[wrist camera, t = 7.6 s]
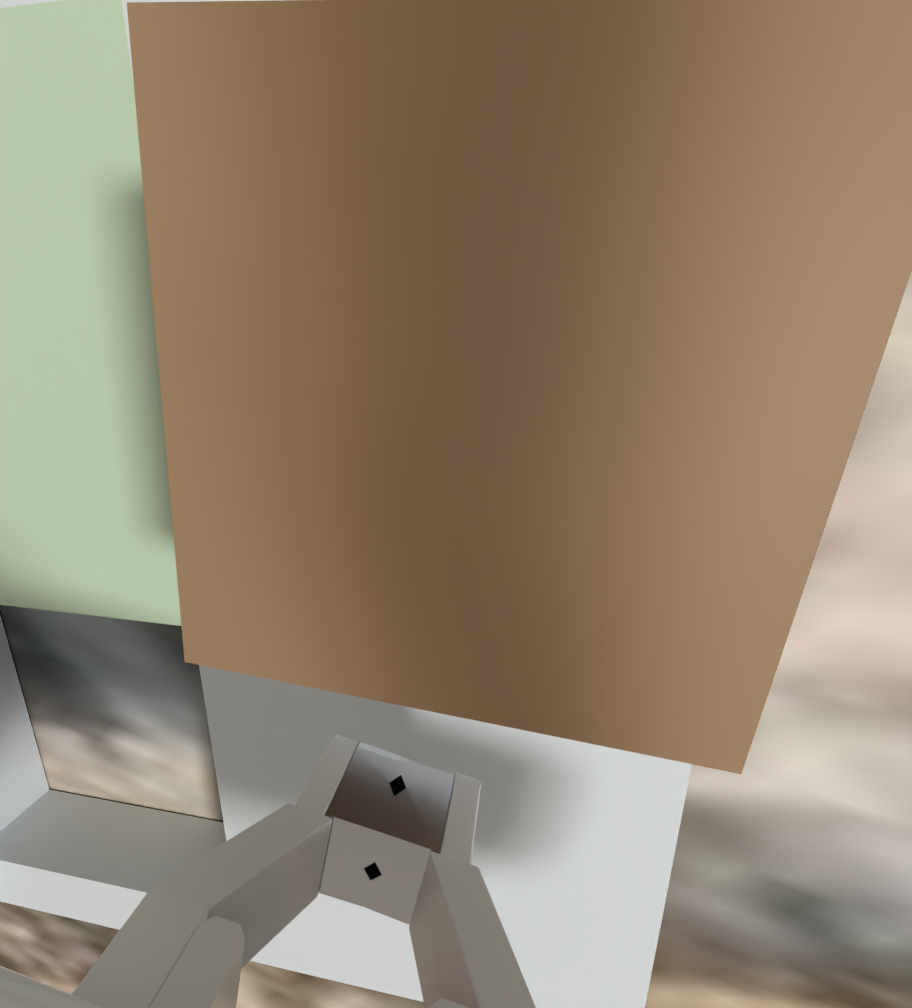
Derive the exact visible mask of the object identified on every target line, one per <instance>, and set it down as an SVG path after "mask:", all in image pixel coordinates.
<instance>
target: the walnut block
mask: <svg viewBox="0 0 912 1008" xmlns="http://www.w3.org/2000/svg"><path fill="white" fill-rule="evenodd" d="M127 13H128V24H129V35H130V47H131V58H132V69H133V81H134V92H135V104H136V115H137V126H138V138H139V149H140V161H141V172H142V183H143V195H144V206H145V217H146V229H147V240H148V252H149V263H150V274H151V286H152V297H153V308H154V320H155V331H156V343H157V354H158V365H159V377H160V388H161V400H162V411H163V422H164V434H165V445H166V456H167V468H168V479H169V491H170V502H171V513H172V525H173V536H174V547H175V559H176V570H177V582H178V593H179V604H180V616H181V627H182V639H183V650H184V661H185V662H188V663H193V664H198V665H203V666H208V667H213V668H218V669H223V670H228V671H233V672H237V673H242V674H247V675H252V676H257V677H262V678H267V679H272V680H277V681H282V682H287V683H292V684H297V685H302V686H307V687H312V688H317V689H322V690H327V691H332V692H337V693H342V694H347V695H352V696H357V697H361V698H366V699H371V700H376V701H381V702H386V703H391V704H396V705H401V706H406V707H411V708H416V709H421V710H426V711H431V712H436V713H441V714H446V715H451V716H456V717H461V718H466V719H471V720H476V721H480V722H485V723H490V724H495V725H500V726H505V727H510V728H515V729H520V730H525V731H530V732H535V733H540V734H545V735H550V736H555V737H560V738H565V739H570V740H575V741H580V742H585V743H590V744H595V745H599V746H604V747H609V748H614V749H619V750H624V751H629V752H634V753H639V754H644V755H649V756H654V757H659V758H664V759H669V760H674V761H679V762H684V763H689V764H694V765H699V766H704V767H709V768H714V769H719V770H723V771H728V772H733V773H738V774H741V773H742V770H743V767H744V764H745V761H746V758H747V755H748V752H749V749H750V746H751V743H752V740H753V737H754V734H755V731H756V728H757V725H758V722H759V719H760V717H761V714H762V711H763V708H764V705H765V702H766V699H767V696H768V693H769V690H770V687H771V684H772V681H773V678H774V675H775V672H776V669H777V666H778V663H779V660H780V657H781V655H782V652H783V649H784V646H785V643H786V640H787V637H788V634H789V631H790V628H791V625H792V622H793V619H794V616H795V613H796V610H797V607H798V604H799V601H800V598H801V595H802V593H803V590H804V587H805V584H806V581H807V578H808V575H809V572H810V569H811V566H812V563H813V560H814V557H815V554H816V551H817V548H818V545H819V542H820V539H821V536H822V533H823V530H824V528H825V525H826V522H827V519H828V516H829V513H830V510H831V507H832V504H833V501H834V498H835V495H836V492H837V489H838V486H839V483H840V480H841V477H842V474H843V471H844V468H845V466H846V463H847V460H848V457H849V454H850V451H851V448H852V445H853V442H854V439H855V436H856V433H857V430H858V427H859V424H860V421H861V418H862V415H863V412H864V409H865V406H866V404H867V401H868V398H869V395H870V392H871V389H872V386H873V383H874V380H875V377H876V374H877V371H878V368H879V365H880V362H881V359H882V356H883V353H884V350H885V347H886V344H887V342H888V339H889V336H890V333H891V330H892V327H893V324H894V321H895V318H896V315H897V312H898V309H899V306H900V303H901V300H902V297H903V294H904V291H905V288H906V285H907V282H908V280H909V277H910V274H911V271H912V0H275V1H200V2H127Z"/></svg>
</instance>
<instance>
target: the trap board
mask: <svg viewBox="0 0 912 1008" xmlns="http://www.w3.org/2000/svg"><path fill="white" fill-rule="evenodd" d="M200 1H275V0H0V605H5V606H14V607H23V608H31V609H40V610H48V611H57V612H66V613H74V614H83V615H91V616H100V617H108V618H117V619H126V620H134V621H143V622H151V623H160V624H168V625H177V626H181V616H180V604H179V593H178V582H177V570H176V559H175V547H174V536H173V525H172V513H171V502H170V491H169V479H168V468H167V456H166V445H165V434H164V422H163V411H162V400H161V388H160V377H159V365H158V354H157V343H156V331H155V320H154V308H153V297H152V286H151V274H150V263H149V252H148V240H147V229H146V217H145V206H144V195H143V183H142V172H141V161H140V149H139V138H138V126H137V115H136V104H135V92H134V81H133V69H132V58H131V47H130V35H129V24H128V13H127V2H200ZM199 669H200V675H201V682H202V688H203V694H204V701H205V707H206V714H207V720H208V727H209V733H210V739H211V746H212V752H213V759H214V765H215V771H216V778H217V784H218V791H219V797H220V803H221V810H222V816H223V822H219V821H213V820H208V819H203V818H198V817H192V816H187V815H182V814H176V813H171V812H166V811H160V810H155V809H150V808H144V807H139V806H134V805H129V804H123V803H118V802H113V801H107V800H102V799H97V798H91V797H86V796H81V795H75V794H70V793H65V792H59V791H54V790H49V786H48V782H47V779H46V775H45V772H44V768H43V765H42V761H41V758H40V754H39V750H38V747H37V743H36V740H35V736H34V733H33V729H32V726H31V722H30V719H29V715H28V711H27V708H26V704H25V701H24V697H23V694H22V690H21V687H20V683H19V679H18V676H17V672H16V669H15V665H14V662H13V658H12V655H11V651H10V648H9V644H8V640H7V637H6V633H5V630H4V626H3V623H2V619H1V616H0V901H1V902H5V903H10V904H14V905H18V906H22V907H26V908H31V909H35V910H39V911H43V912H47V913H52V914H56V915H60V916H64V917H68V918H73V919H77V920H81V921H85V922H89V923H94V924H98V925H102V926H106V927H110V928H115V929H119V930H120V929H121V928H122V926H123V925H124V924H125V922H126V921H127V920H128V918H129V917H130V916H131V914H132V913H133V912H134V910H135V909H136V908H137V906H138V905H139V903H140V902H141V901H142V899H143V898H144V897H145V895H146V894H147V893H148V891H149V890H150V889H151V888H152V887H154V886H155V885H157V884H158V883H160V882H162V881H163V880H165V879H166V878H168V877H170V876H171V875H173V874H174V873H176V872H178V871H179V870H181V869H183V868H184V867H186V866H187V865H189V864H191V863H192V862H194V861H195V860H197V859H199V858H200V857H202V856H203V855H205V854H207V853H208V852H210V851H212V850H213V849H215V848H216V847H218V846H220V845H221V844H223V843H224V842H226V841H228V840H229V839H231V838H232V837H234V836H236V835H237V834H239V833H241V832H242V831H244V830H245V829H247V828H249V827H250V826H252V825H253V824H255V823H257V822H258V821H260V820H261V819H263V818H265V817H266V816H268V815H270V814H271V813H273V812H274V811H276V810H278V809H279V808H281V807H282V806H284V805H286V804H287V803H289V804H292V805H296V803H297V801H298V800H299V798H300V796H301V794H302V792H303V790H304V789H305V787H306V785H307V783H308V781H309V780H310V778H311V776H312V774H313V772H314V770H315V769H316V767H317V765H318V763H319V761H320V759H321V758H322V756H323V754H324V752H325V750H326V749H327V747H328V745H329V743H330V741H331V740H332V739H333V738H334V736H335V735H336V734H338V735H341V736H344V737H347V738H350V739H352V740H355V741H358V742H362V743H365V744H368V745H371V746H374V747H377V748H380V749H382V750H385V751H388V752H391V753H394V754H397V755H400V756H402V757H405V758H411V759H414V760H417V761H420V762H424V763H427V764H430V765H434V766H437V767H440V768H443V769H447V770H450V771H453V772H455V773H459V774H462V775H465V776H469V777H472V778H475V779H478V780H480V783H481V789H480V797H479V805H478V813H477V821H476V829H475V837H474V845H473V853H472V861H471V865H474V866H476V867H479V869H480V871H481V874H482V876H483V879H484V881H485V884H486V886H487V888H488V891H489V893H490V896H491V898H492V901H493V903H494V906H495V908H496V911H497V913H498V916H499V918H500V920H501V923H502V925H503V928H504V930H505V933H506V935H507V938H508V940H509V943H510V945H511V948H512V950H513V953H514V955H515V957H516V960H517V962H518V965H519V967H520V970H521V972H522V975H523V977H524V980H525V982H526V985H527V987H528V989H529V992H530V994H531V997H532V999H533V1002H534V1004H535V1007H536V1008H645V1004H646V998H647V993H648V988H649V983H650V978H651V973H652V967H653V962H654V957H655V952H656V947H657V941H658V936H659V931H660V926H661V921H662V916H663V910H664V905H665V900H666V895H667V890H668V884H669V879H670V874H671V869H672V864H673V859H674V853H675V848H676V843H677V838H678V833H679V827H680V822H681V817H682V812H683V807H684V802H685V796H686V791H687V786H688V781H689V776H690V771H691V765H692V764H689V763H684V762H679V761H674V760H669V759H664V758H659V757H654V756H649V755H644V754H639V753H634V752H629V751H624V750H619V749H614V748H609V747H604V746H599V745H595V744H590V743H585V742H580V741H575V740H570V739H565V738H560V737H555V736H550V735H545V734H540V733H535V732H530V731H525V730H520V729H515V728H510V727H505V726H500V725H495V724H490V723H485V722H480V721H476V720H471V719H466V718H461V717H456V716H451V715H446V714H441V713H436V712H431V711H426V710H421V709H416V708H411V707H406V706H401V705H396V704H391V703H386V702H381V701H376V700H371V699H366V698H361V697H357V696H352V695H347V694H342V693H337V692H332V691H327V690H322V689H317V688H312V687H307V686H302V685H297V684H292V683H287V682H282V681H277V680H272V679H267V678H262V677H257V676H252V675H247V674H242V673H237V672H233V671H228V670H223V669H218V668H213V667H208V666H203V665H199ZM409 926H410V925H409V924H406V923H404V922H401V921H398V920H396V919H393V918H391V917H388V916H386V915H383V914H380V913H378V912H375V911H373V910H370V909H368V908H365V906H364V907H362V906H359V905H356V904H353V903H349V902H346V901H343V900H340V899H337V898H333V897H330V896H327V895H324V894H321V893H318V896H317V897H316V898H315V899H314V900H313V901H312V902H311V903H310V904H309V905H308V906H307V907H306V908H305V909H304V910H303V911H302V912H301V913H300V914H298V915H297V916H296V917H295V918H294V919H293V920H292V921H291V922H290V923H289V924H288V925H287V926H286V927H285V928H284V929H283V930H282V931H280V932H279V933H278V934H277V935H276V936H275V937H274V938H273V939H272V940H271V941H270V942H269V943H268V944H267V945H266V946H265V947H264V948H262V949H261V950H260V951H259V952H258V953H257V954H256V955H255V956H254V957H253V958H252V959H251V960H250V961H253V962H258V963H262V964H266V965H270V966H275V967H279V968H283V969H287V970H291V971H296V972H300V973H304V974H308V975H312V976H317V977H321V978H325V979H329V980H333V981H338V982H342V983H346V984H350V985H354V986H359V987H363V988H367V989H371V990H375V991H380V992H384V993H388V994H392V995H396V996H401V997H405V998H409V999H413V1000H418V1001H422V1002H424V1001H423V996H422V991H421V986H420V981H419V976H418V971H417V966H416V961H415V956H414V951H413V946H412V941H411V936H410V931H409Z"/></svg>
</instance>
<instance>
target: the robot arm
mask: <svg viewBox="0 0 912 1008" xmlns="http://www.w3.org/2000/svg"><path fill="white" fill-rule="evenodd" d="M480 789H481V783H480V780H478V779H475V778H472V777H469V776H465V775H462V774H459V773H455V772H453V771H450V770H447V769H443V768H440V767H437V766H434V765H430V764H427V763H424V762H420V761H417V760H414V759H411V758H405V757H402V756H400V755H397V754H394V753H391V752H388V751H385V750H382V749H380V748H377V747H374V746H371V745H368V744H365V743H362V742H358V741H355V740H352V739H350V738H347V737H344V736H341V735H338V734H336V735H335V736H334V738H333V739H332V740H331V741H330V743H329V745H328V747H327V749H326V750H325V752H324V754H323V756H322V758H321V759H320V761H319V763H318V765H317V767H316V769H315V770H314V772H313V774H312V776H311V778H310V780H309V781H308V783H307V785H306V787H305V789H304V790H303V792H302V794H301V796H300V798H299V800H298V801H297V803H296V805H292V804H289V803H287V804H286V805H284V806H282V807H281V808H279V809H278V810H276V811H274V812H273V813H271V814H270V815H268V816H266V817H265V818H263V819H261V820H260V821H258V822H257V823H255V824H253V825H252V826H250V827H249V828H247V829H245V830H244V831H242V832H241V833H239V834H237V835H236V836H234V837H232V838H231V839H229V840H228V841H226V842H224V843H223V844H221V845H220V846H218V847H216V848H215V849H213V850H212V851H210V852H208V853H207V854H205V855H203V856H202V857H200V858H199V859H197V860H195V861H194V862H192V863H191V864H189V865H187V866H186V867H184V868H183V869H181V870H179V871H178V872H176V873H174V874H173V875H171V876H170V877H168V878H166V879H165V880H163V881H162V882H160V883H158V884H157V885H155V886H154V887H152V888H151V889H150V890H149V891H148V893H147V894H146V895H145V897H144V898H143V899H142V901H141V902H140V903H139V905H138V906H137V908H136V909H135V910H134V912H133V913H132V914H131V916H130V917H129V918H128V920H127V921H126V922H125V924H124V925H123V926H122V928H121V929H120V930H119V932H118V933H117V934H116V936H115V937H114V938H113V940H112V941H111V942H110V944H109V945H108V946H107V948H106V949H105V951H104V952H103V953H102V955H101V956H100V957H99V959H98V960H97V961H96V963H95V964H94V965H93V967H92V968H91V969H90V971H89V972H88V973H87V975H86V976H85V977H84V979H83V980H82V981H81V983H80V984H79V985H78V987H77V988H76V990H75V991H74V992H73V994H71V993H68V992H66V991H63V990H61V989H58V988H55V987H53V986H50V985H48V984H45V983H43V982H40V981H37V980H35V979H32V978H30V977H27V976H25V975H22V974H20V973H17V972H14V971H12V970H9V969H7V968H4V967H2V966H0V1008H236V1002H237V995H238V987H239V980H240V972H241V968H242V967H243V966H245V965H246V964H247V963H248V962H249V961H250V960H251V959H252V958H253V957H254V956H255V955H256V954H257V953H258V952H259V951H260V950H261V949H262V948H264V947H265V946H266V945H267V944H268V943H269V942H270V941H271V940H272V939H273V938H274V937H275V936H276V935H277V934H278V933H279V932H280V931H282V930H283V929H284V928H285V927H286V926H287V925H288V924H289V923H290V922H291V921H292V920H293V919H294V918H295V917H296V916H297V915H298V914H300V913H301V912H302V911H303V910H304V909H305V908H306V907H307V906H308V905H309V904H310V903H311V902H312V901H313V900H314V899H315V898H316V897H317V896H318V893H321V894H324V895H327V896H330V897H333V898H337V899H340V900H343V901H346V902H349V903H353V904H356V905H359V906H362V907H364V906H365V908H368V909H370V910H373V911H375V912H378V913H380V914H383V915H386V916H388V917H391V918H393V919H396V920H398V921H401V922H404V923H406V924H409V925H410V926H409V931H410V936H411V941H412V946H413V951H414V956H415V961H416V966H417V971H418V976H419V981H420V986H421V991H422V996H423V1001H424V1006H425V1008H536V1007H535V1004H534V1002H533V999H532V997H531V994H530V992H529V989H528V987H527V985H526V982H525V980H524V977H523V975H522V972H521V970H520V967H519V965H518V962H517V960H516V957H515V955H514V953H513V950H512V948H511V945H510V943H509V940H508V938H507V935H506V933H505V930H504V928H503V925H502V923H501V920H500V918H499V916H498V913H497V911H496V908H495V906H494V903H493V901H492V898H491V896H490V893H489V891H488V888H487V886H486V884H485V881H484V879H483V876H482V874H481V871H480V869H479V867H476V866H474V865H471V861H472V853H473V845H474V837H475V829H476V821H477V813H478V805H479V797H480Z"/></svg>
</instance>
